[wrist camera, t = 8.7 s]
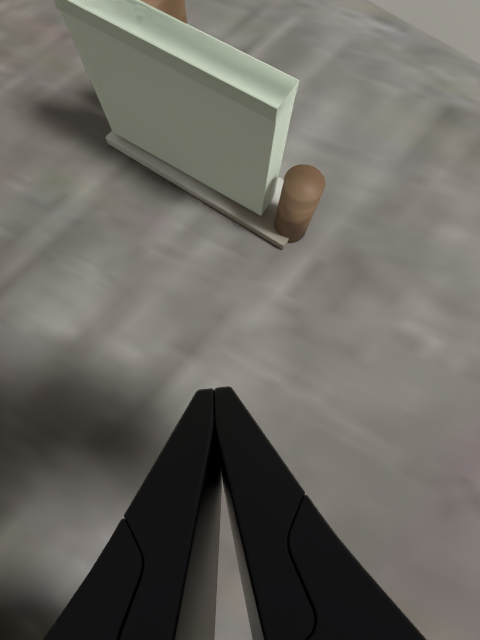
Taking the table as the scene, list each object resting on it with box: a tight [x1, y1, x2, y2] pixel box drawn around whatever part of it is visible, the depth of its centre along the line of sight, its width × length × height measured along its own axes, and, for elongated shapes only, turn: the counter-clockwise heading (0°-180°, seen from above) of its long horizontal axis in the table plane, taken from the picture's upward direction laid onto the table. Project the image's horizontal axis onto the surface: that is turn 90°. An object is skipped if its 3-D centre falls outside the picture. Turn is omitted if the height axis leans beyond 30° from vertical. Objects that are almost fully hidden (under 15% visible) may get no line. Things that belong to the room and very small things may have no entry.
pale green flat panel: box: [54, 0, 299, 216], centre depth 19 cm, size 13×2×8 cm, turn 58°
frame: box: [105, 0, 325, 250], centre depth 20 cm, size 6×17×9 cm, turn 56°
